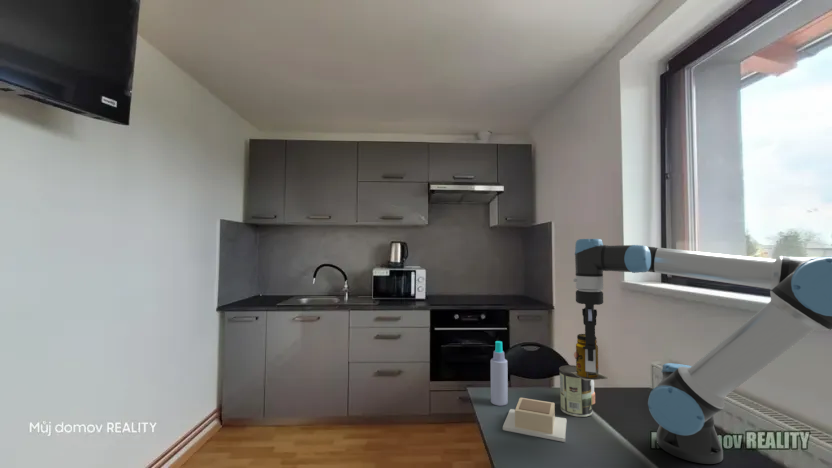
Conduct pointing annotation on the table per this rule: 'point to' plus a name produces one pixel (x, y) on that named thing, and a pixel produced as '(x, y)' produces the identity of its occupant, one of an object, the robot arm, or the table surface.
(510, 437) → the table surface
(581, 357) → the condiment
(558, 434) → the structure base
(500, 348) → the spray bottle
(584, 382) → the coffee can
